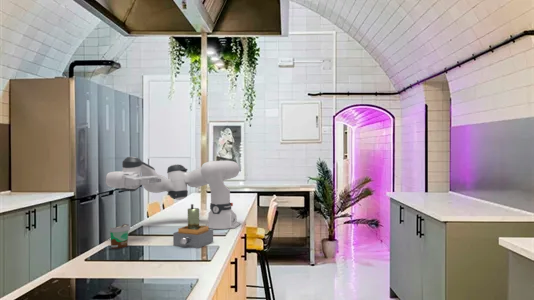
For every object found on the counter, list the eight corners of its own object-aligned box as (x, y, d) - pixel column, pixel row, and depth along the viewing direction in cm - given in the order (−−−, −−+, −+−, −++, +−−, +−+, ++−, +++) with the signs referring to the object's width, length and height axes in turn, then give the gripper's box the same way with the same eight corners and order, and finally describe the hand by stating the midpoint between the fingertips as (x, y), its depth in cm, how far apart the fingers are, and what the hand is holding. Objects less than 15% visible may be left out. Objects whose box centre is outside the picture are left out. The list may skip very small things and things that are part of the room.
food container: (121, 250, 207) (121, 228, 206) (109, 249, 208) (109, 227, 208) (134, 244, 219) (134, 223, 218) (123, 243, 220) (123, 223, 220)
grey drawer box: (188, 239, 229) (188, 224, 229) (213, 241, 224) (213, 225, 224) (169, 246, 213) (169, 229, 213) (195, 249, 208) (195, 232, 208)
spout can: (191, 230, 223) (191, 203, 223) (201, 230, 221) (201, 203, 221) (185, 232, 218) (185, 204, 218) (195, 232, 216) (195, 205, 216)
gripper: (145, 184, 242) (167, 185, 237) (119, 188, 223) (142, 189, 218) (145, 172, 242) (167, 173, 237) (119, 175, 223) (142, 176, 218)
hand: (155, 181), depth 227 cm, fingers open, 8 cm apart
